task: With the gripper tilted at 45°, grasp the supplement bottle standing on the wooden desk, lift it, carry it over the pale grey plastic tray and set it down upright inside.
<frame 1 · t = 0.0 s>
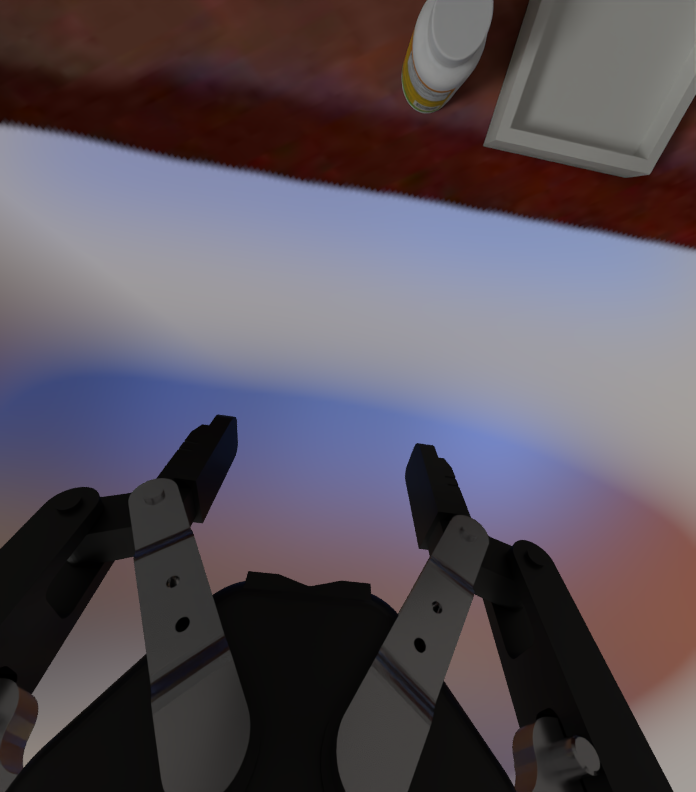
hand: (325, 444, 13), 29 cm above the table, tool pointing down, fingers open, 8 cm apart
supplement bottle: (429, 76, 27), on the table
tray: (603, 51, 26), on the table
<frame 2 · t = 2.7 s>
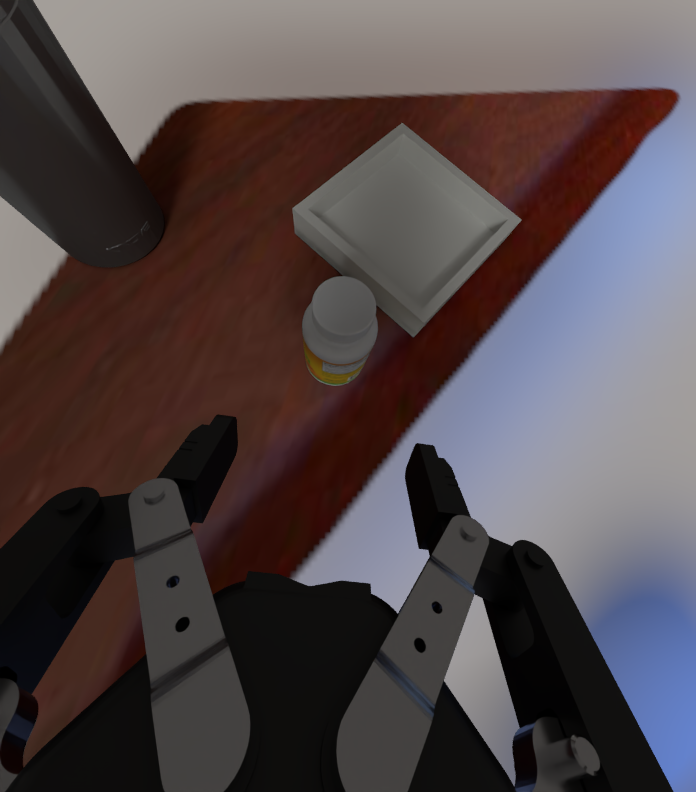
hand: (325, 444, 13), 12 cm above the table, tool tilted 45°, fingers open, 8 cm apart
supplement bottle: (334, 359, 27), on the table
tray: (403, 237, 31), on the table
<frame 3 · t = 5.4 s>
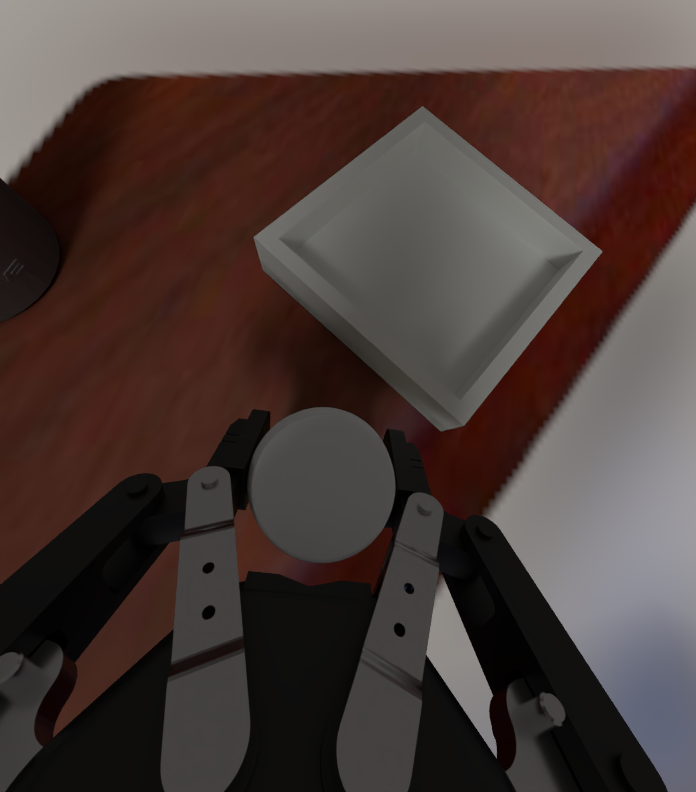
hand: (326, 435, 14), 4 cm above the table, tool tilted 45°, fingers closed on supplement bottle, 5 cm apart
supplement bottle: (319, 471, 17), on the table, touching gripper
tray: (423, 274, 21), on the table
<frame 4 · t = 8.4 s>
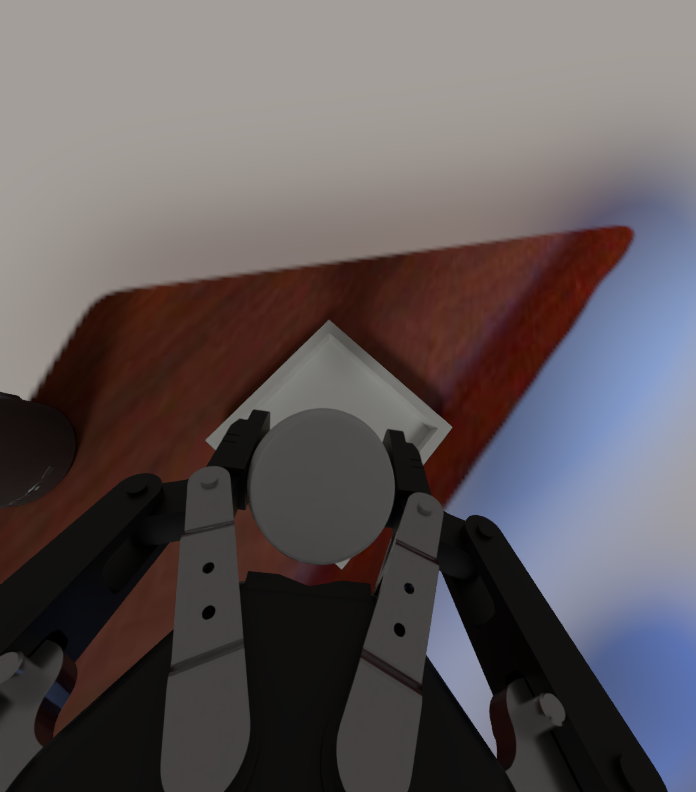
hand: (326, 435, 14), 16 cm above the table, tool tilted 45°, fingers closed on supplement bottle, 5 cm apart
supplement bottle: (319, 471, 17), point 12 cm above the table, touching gripper
tray: (333, 436, 30), on the table
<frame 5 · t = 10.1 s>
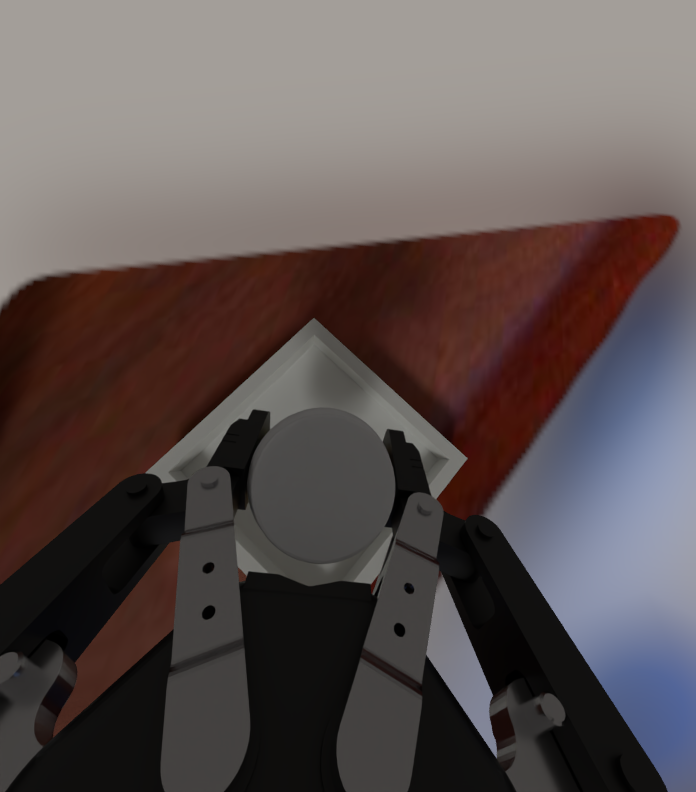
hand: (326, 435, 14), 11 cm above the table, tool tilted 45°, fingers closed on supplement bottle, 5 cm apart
supplement bottle: (319, 471, 17), point 6 cm above the table, touching gripper
tray: (316, 464, 24), on the table
when the fingers open (7 cm above the table, at t = 11.5 s): supplement bottle drops 1 cm, resting on tray.
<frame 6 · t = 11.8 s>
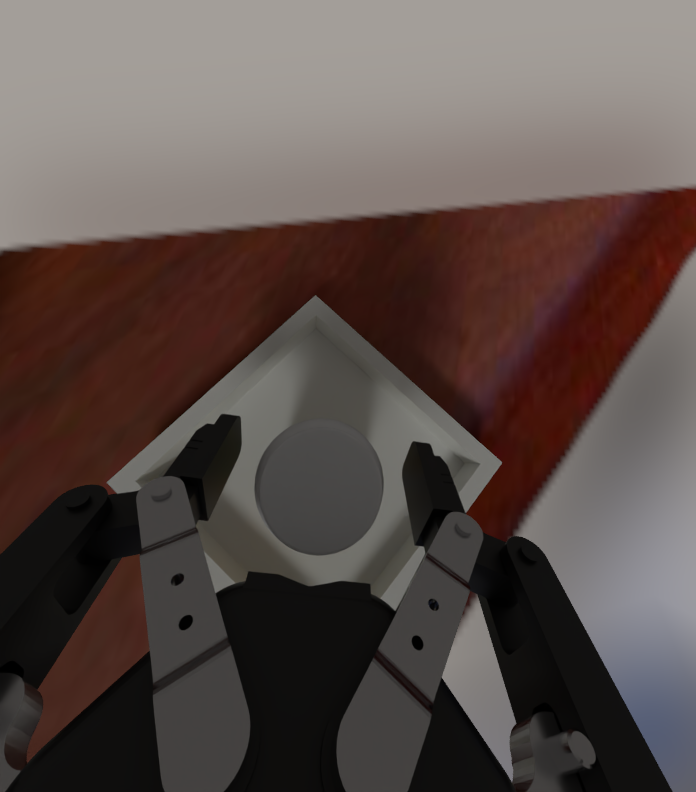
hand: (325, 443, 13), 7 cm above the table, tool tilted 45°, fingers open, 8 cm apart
supplement bottle: (319, 473, 19), point 1 cm above the table, touching tray
tray: (319, 470, 20), on the table
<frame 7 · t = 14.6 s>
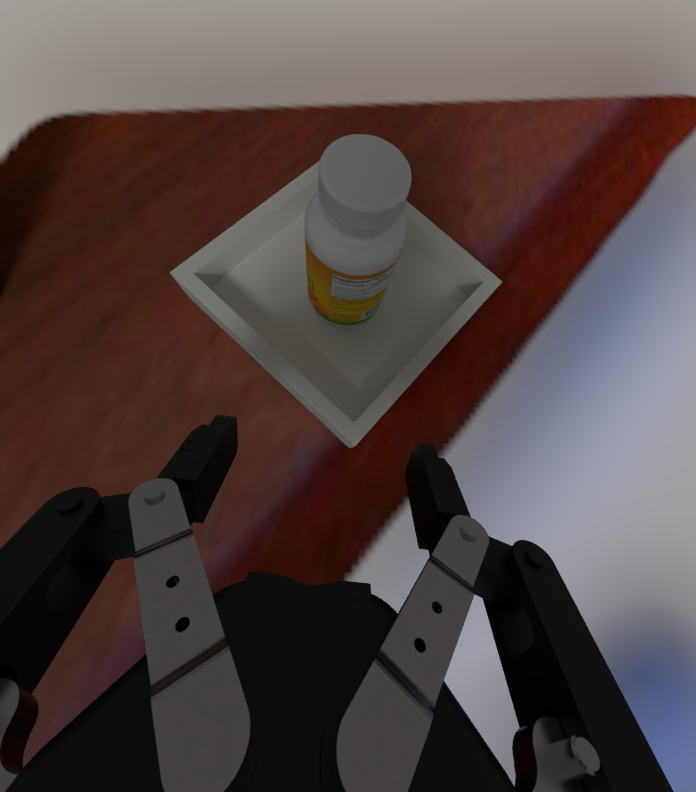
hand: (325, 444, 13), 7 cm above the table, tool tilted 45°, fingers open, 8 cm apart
supplement bottle: (344, 297, 22), point 1 cm above the table, touching tray
tray: (342, 300, 23), on the table
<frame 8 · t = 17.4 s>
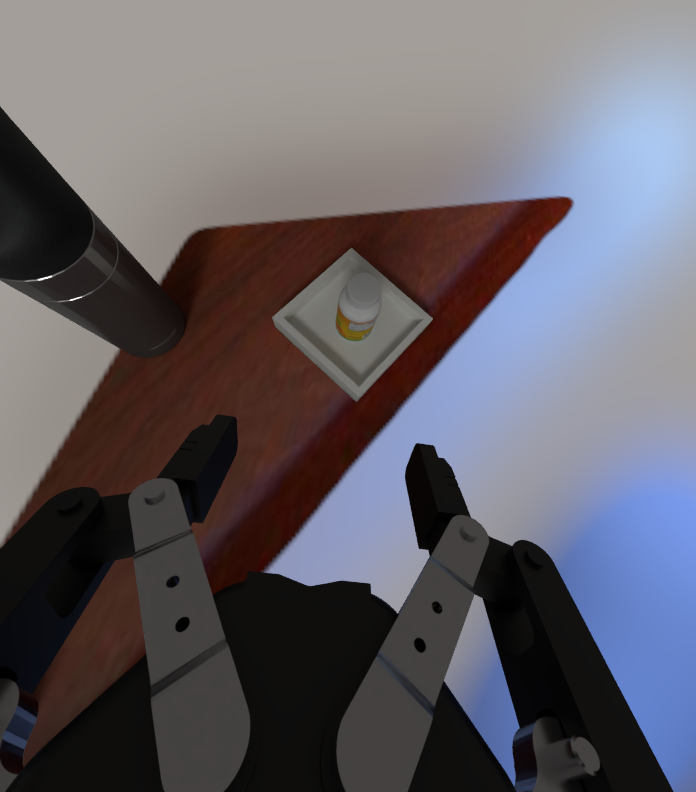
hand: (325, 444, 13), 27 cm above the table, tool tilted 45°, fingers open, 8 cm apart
supplement bottle: (353, 326, 43), point 1 cm above the table, touching tray
tray: (352, 327, 43), on the table
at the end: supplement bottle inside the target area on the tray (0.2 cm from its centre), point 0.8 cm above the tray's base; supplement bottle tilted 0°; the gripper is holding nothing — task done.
